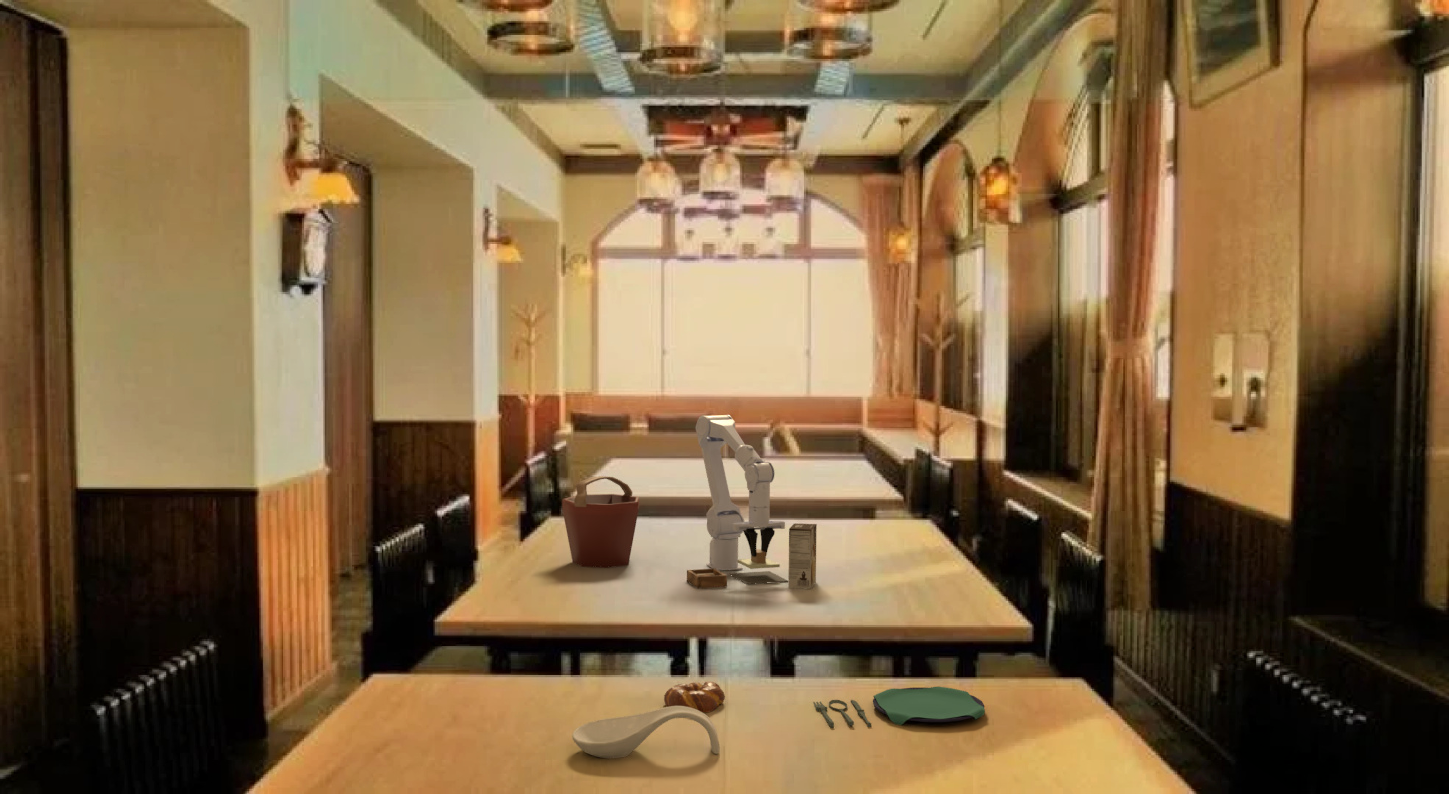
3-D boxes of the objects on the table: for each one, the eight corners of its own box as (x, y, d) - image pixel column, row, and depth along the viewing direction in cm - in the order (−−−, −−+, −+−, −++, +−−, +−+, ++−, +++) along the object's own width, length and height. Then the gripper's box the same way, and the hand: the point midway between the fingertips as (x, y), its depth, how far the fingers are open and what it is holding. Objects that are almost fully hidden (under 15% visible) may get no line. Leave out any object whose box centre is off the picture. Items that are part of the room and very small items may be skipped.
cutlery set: (999, 728, 211) (999, 715, 211) (828, 735, 208) (828, 722, 208) (965, 695, 231) (965, 683, 231) (808, 701, 228) (808, 689, 227)
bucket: (587, 573, 341) (587, 483, 339) (544, 561, 357) (544, 476, 356) (656, 562, 357) (657, 477, 355) (612, 552, 373) (612, 470, 372)
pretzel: (693, 692, 231) (693, 672, 230) (738, 703, 224) (739, 683, 223) (650, 706, 221) (650, 686, 221) (696, 719, 214) (696, 698, 214)
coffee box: (792, 581, 332) (793, 522, 331) (816, 582, 331) (817, 523, 330) (787, 588, 323) (788, 528, 322) (811, 589, 322) (812, 529, 321)
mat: (729, 574, 340) (729, 573, 340) (769, 572, 344) (769, 571, 344) (746, 584, 327) (746, 583, 327) (788, 582, 331) (788, 581, 331)
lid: (737, 562, 339) (737, 548, 339) (765, 560, 342) (765, 547, 342) (750, 568, 329) (750, 554, 329) (779, 567, 332) (779, 553, 332)
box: (686, 581, 331) (686, 570, 331) (714, 579, 334) (714, 568, 334) (698, 588, 322) (698, 577, 322) (726, 586, 324) (726, 575, 324)
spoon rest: (570, 767, 190) (571, 721, 190) (573, 741, 202) (573, 699, 202) (722, 763, 193) (722, 719, 192) (716, 739, 204) (716, 696, 204)
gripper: (739, 509, 329) (738, 559, 329) (789, 507, 333) (788, 556, 334) (730, 506, 335) (730, 555, 336) (779, 504, 340) (779, 552, 341)
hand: (758, 555), depth 335 cm, fingers closed on lid, 2 cm apart
